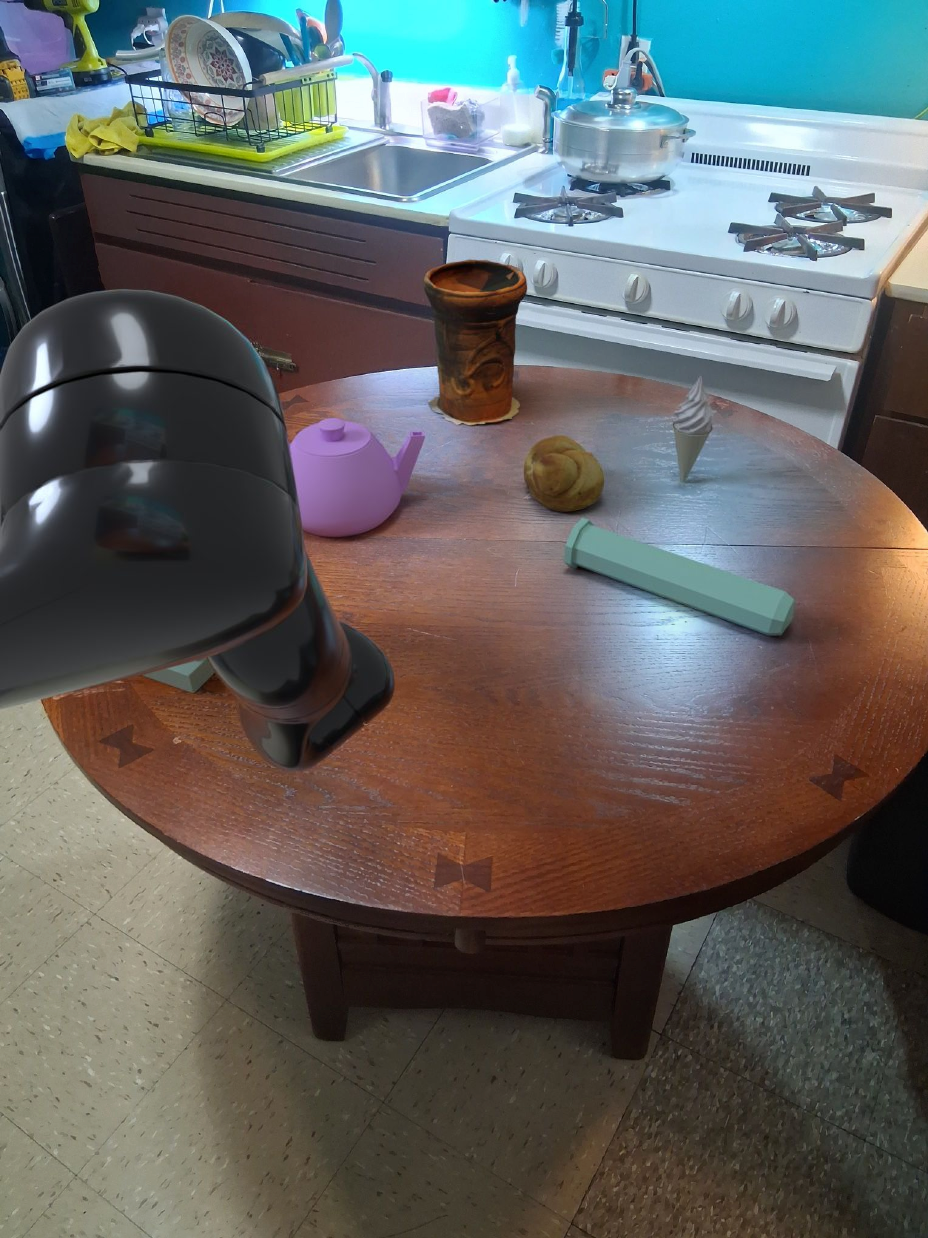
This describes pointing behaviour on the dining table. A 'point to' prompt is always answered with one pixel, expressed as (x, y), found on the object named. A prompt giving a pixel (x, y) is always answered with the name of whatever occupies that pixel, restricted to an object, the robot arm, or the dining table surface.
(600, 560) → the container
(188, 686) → the scale
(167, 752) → the dining table surface
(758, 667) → the dining table surface
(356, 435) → the teapot
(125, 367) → the robot arm
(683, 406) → the ice cream cone
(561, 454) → the bread roll
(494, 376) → the vessel
